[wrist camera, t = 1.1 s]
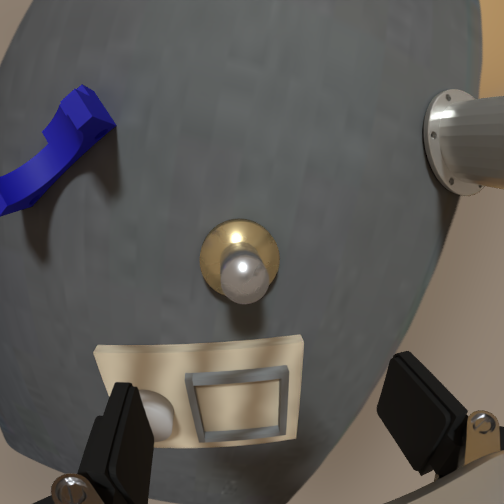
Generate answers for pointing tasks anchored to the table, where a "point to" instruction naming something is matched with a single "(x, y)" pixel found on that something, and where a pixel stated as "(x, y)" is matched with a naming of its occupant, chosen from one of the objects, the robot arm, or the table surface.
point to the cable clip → (57, 149)
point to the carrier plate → (212, 389)
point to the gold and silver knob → (239, 260)
